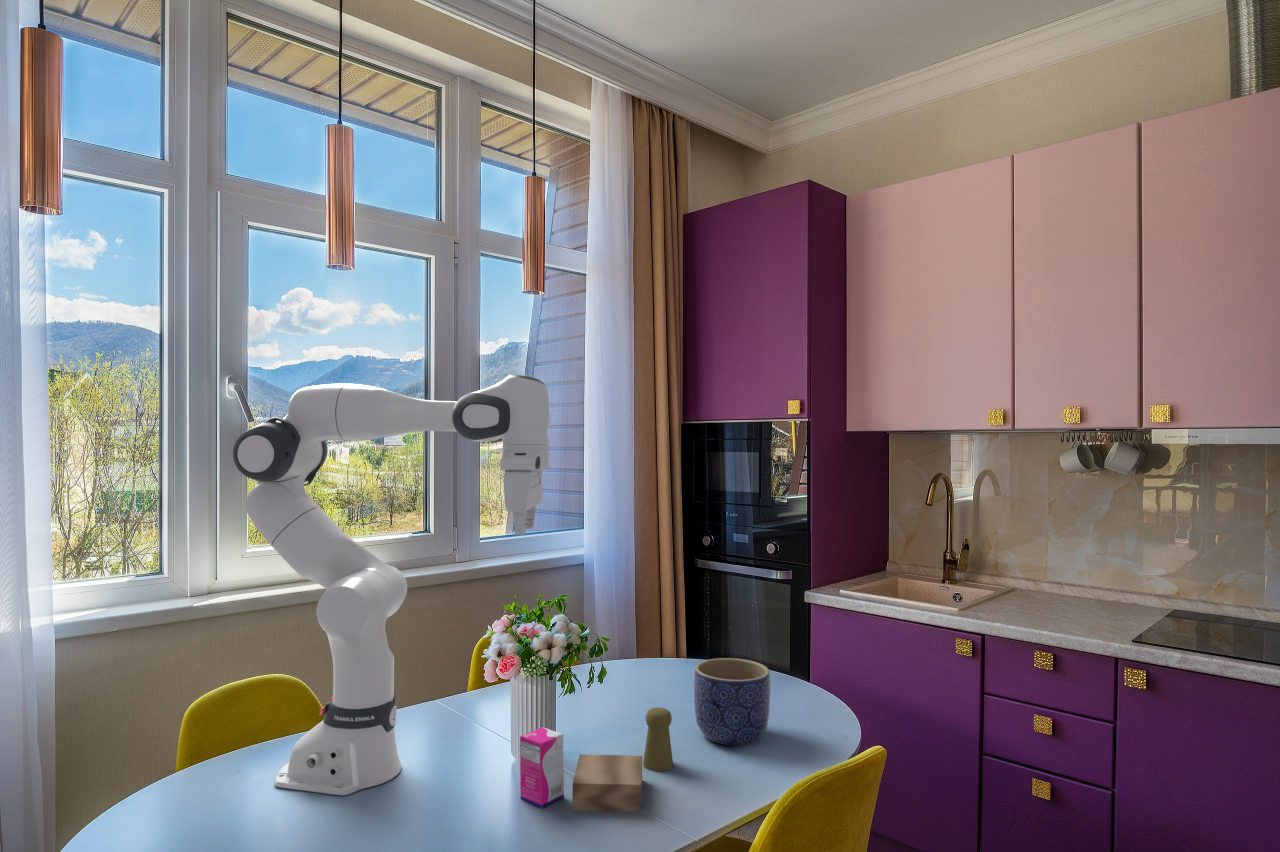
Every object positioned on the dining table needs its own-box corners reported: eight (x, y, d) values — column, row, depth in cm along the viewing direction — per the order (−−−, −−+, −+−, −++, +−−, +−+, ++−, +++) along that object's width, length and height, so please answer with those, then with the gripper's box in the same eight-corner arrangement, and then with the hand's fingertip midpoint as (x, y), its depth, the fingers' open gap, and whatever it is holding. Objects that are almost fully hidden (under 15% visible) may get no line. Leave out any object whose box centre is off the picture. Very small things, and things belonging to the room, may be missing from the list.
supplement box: (542, 787, 141) (542, 725, 142) (564, 797, 138) (565, 733, 138) (518, 798, 137) (519, 734, 137) (541, 809, 133) (542, 743, 133)
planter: (687, 747, 160) (688, 677, 160) (700, 719, 176) (700, 655, 176) (766, 756, 156) (767, 683, 156) (772, 726, 172) (772, 660, 172)
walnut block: (572, 811, 133) (572, 783, 133) (579, 780, 145) (579, 754, 145) (640, 813, 133) (641, 784, 133) (641, 782, 145) (642, 755, 145)
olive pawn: (647, 772, 148) (648, 716, 148) (639, 759, 154) (640, 705, 154) (677, 769, 150) (677, 713, 150) (667, 756, 155) (668, 703, 156)
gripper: (519, 457, 156) (518, 524, 156) (498, 461, 136) (497, 538, 136) (550, 457, 156) (549, 525, 156) (533, 461, 136) (532, 538, 136)
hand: (524, 531), depth 146 cm, fingers open, 8 cm apart
